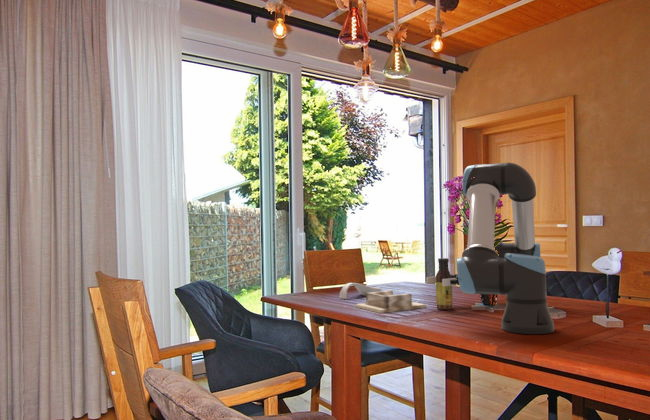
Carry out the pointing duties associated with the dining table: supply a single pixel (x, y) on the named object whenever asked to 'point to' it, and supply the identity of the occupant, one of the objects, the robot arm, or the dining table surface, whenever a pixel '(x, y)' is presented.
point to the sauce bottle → (443, 291)
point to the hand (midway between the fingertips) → (434, 281)
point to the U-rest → (389, 302)
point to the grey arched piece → (359, 287)
